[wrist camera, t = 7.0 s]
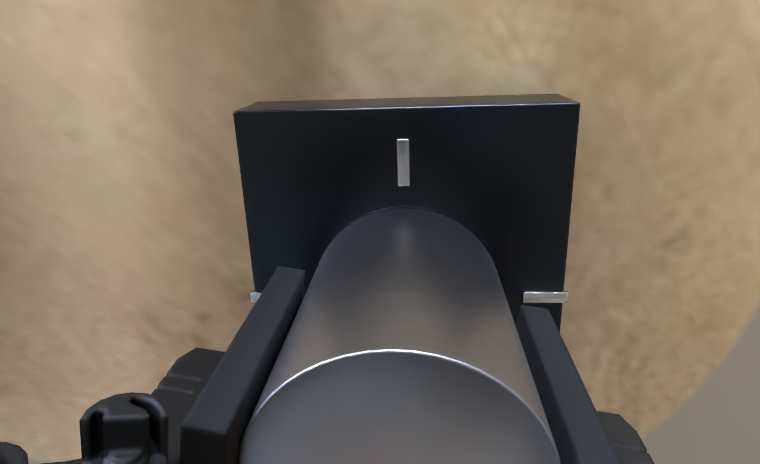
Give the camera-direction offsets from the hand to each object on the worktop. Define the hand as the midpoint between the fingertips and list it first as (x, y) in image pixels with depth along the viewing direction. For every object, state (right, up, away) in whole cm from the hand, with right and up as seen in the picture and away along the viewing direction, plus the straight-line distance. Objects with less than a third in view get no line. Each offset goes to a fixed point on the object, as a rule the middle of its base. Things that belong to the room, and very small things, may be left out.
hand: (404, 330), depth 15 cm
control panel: (0, +2, +5) cm, 5 cm away
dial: (0, +1, +2) cm, 2 cm away
